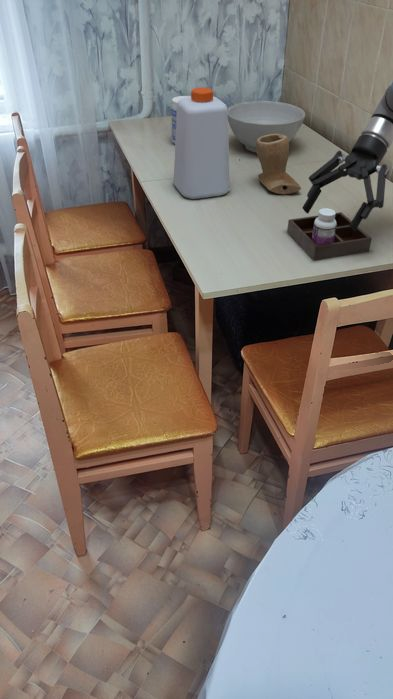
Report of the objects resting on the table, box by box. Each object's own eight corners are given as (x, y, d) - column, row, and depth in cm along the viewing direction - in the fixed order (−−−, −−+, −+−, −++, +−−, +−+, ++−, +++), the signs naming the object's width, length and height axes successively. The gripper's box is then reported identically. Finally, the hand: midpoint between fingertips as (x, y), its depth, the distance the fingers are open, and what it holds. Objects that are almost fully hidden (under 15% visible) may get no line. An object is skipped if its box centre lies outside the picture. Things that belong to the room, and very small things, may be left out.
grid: (368, 251, 136) (371, 238, 134) (313, 260, 132) (315, 247, 130) (338, 224, 147) (341, 212, 145) (287, 232, 144) (288, 219, 141)
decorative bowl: (303, 138, 201) (308, 103, 193) (297, 164, 181) (301, 127, 173) (232, 132, 206) (234, 98, 198) (218, 157, 185) (219, 120, 178)
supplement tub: (167, 144, 195) (165, 100, 186) (180, 136, 202) (179, 94, 192) (190, 148, 192) (190, 104, 183) (203, 140, 198) (203, 97, 189)
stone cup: (248, 178, 171) (252, 129, 162) (284, 175, 173) (289, 127, 164) (263, 198, 160) (267, 147, 150) (301, 195, 162) (308, 144, 152)
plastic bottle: (185, 202, 158) (184, 100, 140) (170, 182, 169) (167, 85, 151) (233, 195, 162) (238, 95, 144) (215, 176, 173) (218, 81, 155)
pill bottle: (311, 241, 138) (316, 205, 132) (332, 243, 137) (338, 207, 131) (310, 251, 134) (315, 215, 128) (331, 253, 133) (338, 217, 127)
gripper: (424, 164, 127) (376, 243, 128) (334, 138, 140) (292, 210, 142) (419, 147, 120) (369, 230, 122) (326, 121, 134) (281, 196, 135)
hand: (327, 219), depth 132 cm, fingers open, 13 cm apart
